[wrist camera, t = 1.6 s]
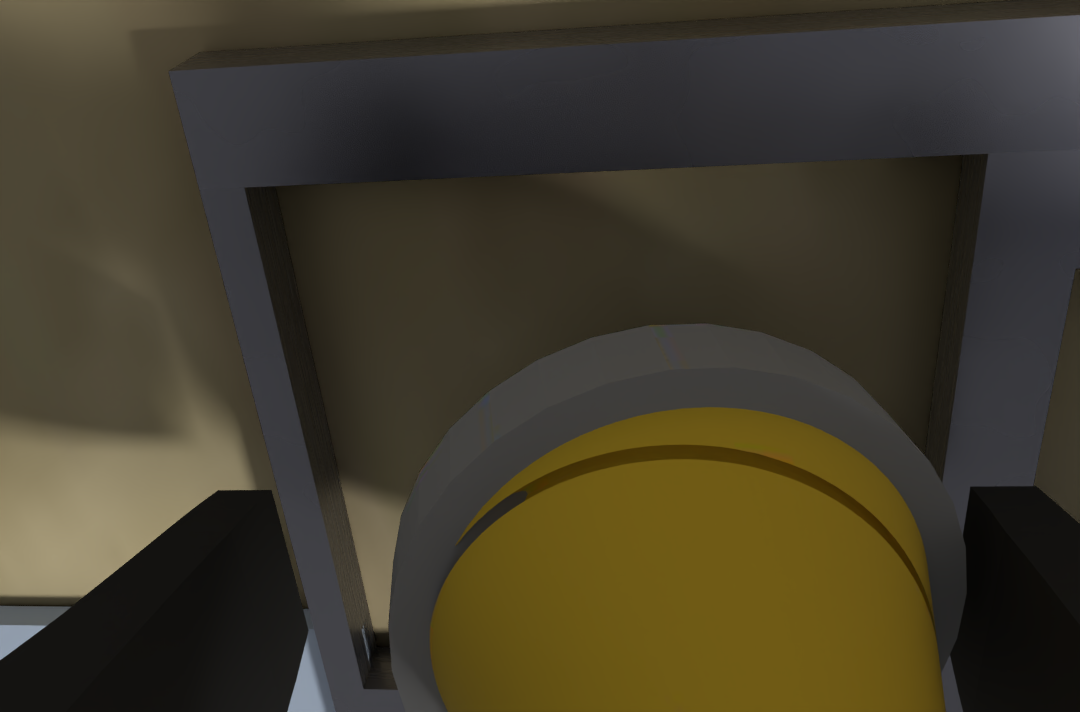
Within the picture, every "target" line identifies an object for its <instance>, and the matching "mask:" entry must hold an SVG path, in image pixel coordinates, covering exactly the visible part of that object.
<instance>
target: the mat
mask: <svg viewBox="0 0 1080 712" xmlns="http://www.w3.org/2000/svg"><path fill="white" fill-rule="evenodd" d="M69 608H70V607H59V606H0V660H1V659H3V658H4V657H5V656H7V655H8V654H9V653H11V652H12V651H13V650H15V649H16V648H17V647H19V646H20V645H21V644H23V643H24V642H25V641H27V640H28V639H30V638H31V637H32V636H34V635H35V634H36V633H38V632H39V631H40V630H42V629H43V628H44V627H46V626H47V625H48V624H50V623H51V622H52V621H54V620H55V619H56V618H58V617H59V616H60V615H62V614H63V613H64V612H65V611H67V610H68V609H69ZM303 611H304V615H305V618H306V622H307V626H308V630H309V631H308V635H307V639H306V643H305V647H304V651H303V655H302V659H301V663H300V667H299V671H298V675H297V679H296V683H295V686H294V690H293V693H292V697H291V701H290V704H289V708H288V711H287V712H336V711H335V707H334V704H333V700H332V696H331V692H330V688H329V684H328V681H327V677H326V673H325V669H324V665H323V661H322V658H321V654H320V650H319V646H318V642H317V638H316V635H315V631H314V627H313V623H312V619H311V616H310V612H309V609H303ZM363 626H364V625H363ZM363 628H364V627H363ZM363 630H364V629H362V633H363V638H364V642H366V643H367V644H368V642H367V640H365V634H366V633H364V632H365V630H364V631H363ZM366 639H367V638H366ZM366 643H365V644H366ZM367 644H366V645H365V646H366V648H367ZM366 651H367V649H366ZM368 652H369V651H368ZM368 652H367V655H368V659H369V658H370V657H369V653H368ZM369 661H370V660H369ZM369 664H370V668H371V664H372V662H371V663H370V662H369Z"/></svg>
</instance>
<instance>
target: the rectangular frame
mask: <svg viewBox="0 0 1080 712" xmlns="http://www.w3.org/2000/svg"><path fill="white" fill-rule="evenodd" d="M169 75H170V79H171V83H172V87H173V91H174V94H175V98H176V102H177V106H178V110H179V114H180V117H181V121H182V125H183V129H184V133H185V137H186V140H187V144H188V148H189V152H190V156H191V160H192V163H193V167H194V171H195V175H196V179H197V183H198V186H199V190H200V194H201V198H202V202H203V206H204V209H205V213H206V217H207V221H208V225H209V229H210V232H211V236H212V240H213V244H214V248H215V252H216V255H217V259H218V263H219V267H220V271H221V274H222V278H223V282H224V286H225V290H226V294H227V297H228V301H229V305H230V309H231V313H232V317H233V320H234V324H235V328H236V332H237V336H238V340H239V343H240V347H241V351H242V355H243V359H244V363H245V366H246V370H247V374H248V378H249V382H250V386H251V389H252V393H253V397H254V401H255V405H256V409H257V412H258V416H259V420H260V424H261V428H262V432H263V435H264V439H265V443H266V447H267V451H268V455H269V458H270V462H271V466H272V470H273V474H274V478H275V481H276V485H277V489H278V493H279V497H280V501H281V504H282V508H283V512H284V516H285V520H286V524H287V527H288V531H289V535H290V539H291V543H292V547H293V550H294V554H295V558H296V562H297V566H298V570H299V573H300V577H301V581H302V585H303V589H304V593H305V596H306V600H307V604H308V608H309V612H310V616H311V619H312V623H313V627H314V631H315V635H316V638H317V642H318V646H319V650H320V654H321V658H322V661H323V665H324V669H325V673H326V677H327V681H328V684H329V688H330V692H331V696H332V700H333V704H334V707H335V711H336V712H405V709H404V706H403V703H402V700H401V697H400V694H399V691H398V688H397V685H396V682H395V679H394V676H393V673H392V666H391V652H390V647H377V645H376V640H375V636H374V631H373V627H372V622H371V618H370V613H369V609H368V604H367V600H366V595H365V591H364V586H363V582H362V577H361V573H360V568H359V564H358V559H357V555H356V550H355V546H354V541H353V537H352V532H351V528H350V523H349V519H348V514H347V510H346V505H345V501H344V496H343V492H342V487H341V483H340V478H339V474H338V469H337V465H336V460H335V456H334V451H333V447H332V442H331V438H330V433H329V429H328V424H327V420H326V415H325V411H324V406H323V402H322V397H321V393H320V388H319V384H318V379H317V375H316V370H315V366H314V361H313V357H312V352H311V348H310V343H309V339H308V334H307V330H306V325H305V321H304V316H303V312H302V307H301V303H300V298H299V294H298V289H297V285H296V280H295V276H294V271H293V267H292V262H291V258H290V253H289V249H288V244H287V240H286V235H285V231H284V226H283V222H282V217H281V213H280V208H279V204H278V199H277V195H276V190H275V186H289V185H311V184H333V183H355V182H377V181H399V180H421V179H443V178H464V177H486V176H508V175H530V174H552V173H574V172H596V171H618V170H640V169H662V168H684V167H706V166H728V165H750V164H772V163H794V162H816V161H837V160H859V159H881V158H903V157H925V156H947V155H963V159H962V167H961V175H960V183H959V191H958V199H957V207H956V214H955V222H954V230H953V238H952V246H951V254H950V262H949V269H948V277H947V285H946V293H945V301H944V309H943V317H942V324H941V332H940V340H939V348H938V356H937V364H936V372H935V379H934V387H933V395H932V403H931V411H930V419H929V427H928V434H927V442H926V450H925V457H926V458H927V459H928V460H929V461H930V463H931V465H932V466H933V468H934V470H935V472H936V473H937V475H938V477H939V478H940V480H941V482H942V484H943V485H944V487H945V489H946V491H947V492H948V494H949V496H950V498H951V499H952V501H953V503H954V506H955V510H956V514H957V517H958V521H959V524H960V528H961V532H962V535H963V530H964V524H965V518H966V511H967V505H968V499H969V492H970V487H972V486H1033V485H1034V479H1035V474H1036V469H1037V464H1038V459H1039V454H1040V449H1041V444H1042V438H1043V433H1044V428H1045V423H1046V418H1047V413H1048V408H1049V403H1050V397H1051V392H1052V387H1053V382H1054V377H1055V372H1056V367H1057V362H1058V356H1059V351H1060V346H1061V341H1062V336H1063V331H1064V326H1065V320H1066V315H1067V310H1068V305H1069V300H1070V295H1071V290H1072V285H1073V279H1074V274H1075V269H1079V268H1080V0H1012V1H996V2H980V3H965V4H949V5H934V6H918V7H902V8H887V9H871V10H855V11H840V12H824V13H808V14H793V15H777V16H761V17H746V18H730V19H715V20H699V21H683V22H668V23H652V24H636V25H621V26H605V27H589V28H574V29H558V30H543V31H527V32H511V33H496V34H480V35H464V36H449V37H433V38H417V39H402V40H386V41H370V42H355V43H339V44H324V45H308V46H292V47H277V48H261V49H245V50H230V51H214V52H200V53H198V54H196V55H195V56H193V57H191V58H190V59H188V60H186V61H185V62H183V63H181V64H180V65H178V66H176V67H175V68H173V69H171V70H170V71H169ZM363 625H364V626H363ZM363 627H364V628H363ZM362 629H364V630H365V632H364V633H366V634H365V640H367V642H368V644H367V643H366V642H364V638H363V633H362ZM364 630H363V631H364ZM366 638H367V639H366ZM365 643H366V644H367V648H366V646H365V645H366V644H365ZM366 649H367V651H366ZM368 651H369V652H368ZM367 652H368V653H369V657H370V658H369V659H368V655H367ZM369 660H370V661H369ZM369 662H370V663H371V662H372V664H371V668H370V664H369ZM941 676H942V684H943V692H944V700H945V708H946V712H963V710H962V705H961V701H960V697H959V693H958V689H957V684H956V680H955V675H954V671H953V666H952V662H951V657H950V655H949V657H948V660H947V662H946V664H945V666H944V669H943V671H942V673H941Z"/></svg>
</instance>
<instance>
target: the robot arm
mask: <svg viewBox="0 0 1080 712" xmlns="http://www.w3.org/2000/svg"><path fill="white" fill-rule="evenodd" d="M963 539H964V543H965V546H966V582H967V594H966V599H965V604H964V608H963V613H962V618H961V622H960V627H959V632H958V636H957V640H956V642H955V644H954V646H953V648H952V651H951V653H950V657H951V662H952V666H953V671H954V675H955V680H956V684H957V689H958V693H959V697H960V701H961V705H962V710H963V712H1080V524H1079V523H1078V522H1077V521H1076V520H1074V519H1073V518H1072V517H1071V516H1070V515H1069V514H1068V513H1066V512H1065V511H1064V510H1063V509H1062V508H1061V507H1060V506H1059V505H1057V504H1056V503H1055V502H1054V501H1053V500H1052V499H1050V498H1049V497H1048V496H1047V495H1046V494H1045V493H1043V492H1042V491H1041V490H1040V489H1039V488H1037V487H1036V486H972V487H970V492H969V499H968V505H967V511H966V518H965V524H964V530H963ZM308 631H309V630H308V626H307V622H306V618H305V615H304V611H303V607H302V603H301V600H300V596H299V592H298V588H297V584H296V581H295V577H294V573H293V569H292V566H291V562H290V558H289V554H288V550H287V547H286V543H285V539H284V535H283V532H282V528H281V524H280V520H279V516H278V513H277V509H276V505H275V501H274V498H273V494H272V490H218V491H217V492H215V493H214V494H213V495H211V496H210V497H208V498H207V499H206V500H204V501H203V502H202V503H200V504H199V505H198V506H196V507H195V508H194V509H192V510H191V511H190V512H189V513H187V514H186V515H185V516H183V517H182V518H181V519H180V520H178V521H177V522H176V523H175V524H173V525H172V526H171V527H170V528H168V529H167V530H166V531H165V532H164V533H162V534H161V535H160V536H159V537H157V538H156V539H155V540H154V541H152V542H151V543H150V544H149V545H148V546H146V547H145V548H144V549H143V550H141V551H140V552H139V553H138V554H136V555H135V556H134V557H133V558H132V559H130V560H129V561H128V562H127V563H125V564H124V565H123V566H122V567H120V568H119V569H118V570H117V571H115V572H114V573H113V574H112V575H110V576H109V577H108V578H107V579H105V580H104V581H103V582H102V583H100V584H99V585H98V586H97V587H95V588H94V589H93V590H92V591H90V592H89V593H88V594H87V595H85V596H84V597H83V598H82V599H80V600H79V601H78V602H77V603H75V604H74V605H73V606H72V607H70V608H69V609H68V610H67V611H65V612H64V613H63V614H62V615H60V616H59V617H58V618H56V619H55V620H54V621H52V622H51V623H50V624H48V625H47V626H46V627H44V628H43V629H42V630H40V631H39V632H38V633H36V634H35V635H34V636H32V637H31V638H30V639H28V640H27V641H25V642H24V643H23V644H21V645H20V646H19V647H17V648H16V649H15V650H13V651H12V652H11V653H9V654H8V655H7V656H5V657H4V658H3V659H1V660H0V712H287V711H288V708H289V704H290V701H291V697H292V693H293V690H294V686H295V683H296V679H297V675H298V671H299V667H300V663H301V659H302V655H303V651H304V647H305V643H306V639H307V635H308Z"/></svg>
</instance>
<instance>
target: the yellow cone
mask: <svg viewBox="0 0 1080 712" xmlns="http://www.w3.org/2000/svg"><path fill="white" fill-rule="evenodd" d="M966 594H967V582H966V546H965V543H964V539H963V535H962V532H961V528H960V524H959V521H958V517H957V514H956V510H955V506H954V503H953V501H952V499H951V498H950V496H949V494H948V492H947V491H946V489H945V487H944V485H943V484H942V482H941V480H940V478H939V477H938V475H937V473H936V472H935V470H934V468H933V466H932V465H931V463H930V461H929V460H928V459H927V458H926V457H925V455H924V454H923V453H922V452H921V451H920V450H919V449H918V447H917V446H916V445H915V444H914V443H913V442H912V441H911V439H910V438H909V437H908V436H907V435H906V434H905V433H904V431H903V430H902V429H901V428H900V427H899V426H898V425H897V423H896V422H895V421H894V420H893V419H892V418H891V417H890V415H889V414H888V413H887V412H886V411H885V410H884V409H883V408H882V407H881V406H880V405H879V404H878V403H877V402H876V401H875V400H874V398H873V397H872V396H871V395H870V394H869V393H868V392H867V391H866V390H865V389H864V388H863V387H862V386H861V385H860V384H859V383H858V382H857V381H856V380H855V379H854V378H853V377H852V376H850V375H848V374H847V373H845V372H844V371H842V370H841V369H839V368H838V367H836V366H834V365H833V364H831V363H830V362H828V361H827V360H825V359H824V358H822V357H820V356H819V355H817V354H816V353H814V352H813V351H811V350H808V349H806V348H803V347H800V346H798V345H795V344H792V343H790V342H787V341H784V340H781V339H779V338H776V337H773V336H771V335H768V334H765V333H763V332H758V331H752V330H745V329H739V328H733V327H726V326H720V325H714V324H707V323H702V324H670V325H647V326H643V327H638V328H633V329H629V330H624V331H619V332H615V333H610V334H606V335H601V336H596V337H592V338H589V339H587V340H584V341H582V342H579V343H577V344H575V345H572V346H570V347H567V348H565V349H562V350H560V351H558V352H555V353H553V354H550V355H548V356H545V357H543V358H541V359H538V360H536V361H535V362H533V363H532V364H530V365H529V366H527V367H525V368H524V369H522V370H521V371H519V372H518V373H516V374H515V375H513V376H511V377H510V378H508V379H507V380H505V381H504V382H502V383H501V384H499V385H498V386H496V387H494V388H493V389H491V390H490V391H489V392H488V393H486V394H485V395H484V396H483V397H482V398H481V399H480V400H479V401H478V402H477V403H476V404H475V405H474V406H473V407H472V408H471V409H470V410H469V411H468V412H467V413H465V414H464V415H463V416H462V417H461V418H460V419H459V420H458V421H457V422H456V423H455V424H454V425H453V426H452V427H451V428H450V429H449V430H448V432H447V433H446V434H445V436H444V437H443V439H442V440H441V442H440V443H439V444H438V446H437V447H436V449H435V450H434V452H433V453H432V454H431V456H430V457H429V459H428V460H427V462H426V463H425V465H424V466H423V467H422V469H421V470H420V472H419V474H418V477H417V479H416V482H415V484H414V486H413V489H412V491H411V494H410V496H409V498H408V501H407V503H406V505H405V508H404V510H403V513H402V515H401V519H400V525H399V531H398V537H397V543H396V549H395V555H394V560H393V572H392V585H391V598H390V611H389V624H388V625H389V639H390V652H391V666H392V673H393V676H394V679H395V682H396V685H397V688H398V691H399V694H400V697H401V700H402V703H403V706H404V709H405V712H946V708H945V700H944V692H943V684H942V676H941V673H942V671H943V669H944V666H945V664H946V662H947V660H948V657H949V655H950V653H951V651H952V648H953V646H954V644H955V642H956V640H957V636H958V632H959V627H960V622H961V618H962V613H963V608H964V604H965V599H966Z"/></svg>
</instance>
